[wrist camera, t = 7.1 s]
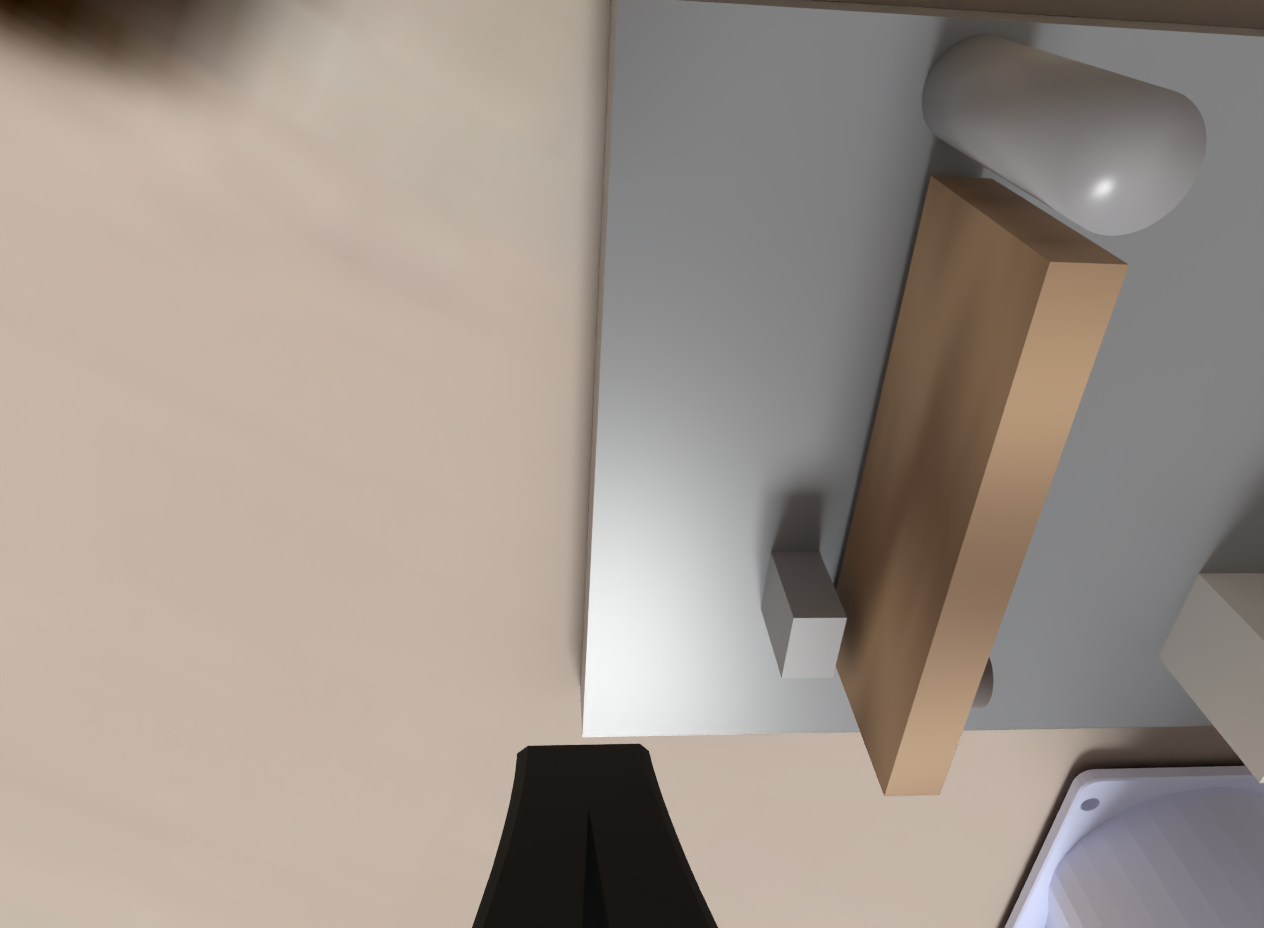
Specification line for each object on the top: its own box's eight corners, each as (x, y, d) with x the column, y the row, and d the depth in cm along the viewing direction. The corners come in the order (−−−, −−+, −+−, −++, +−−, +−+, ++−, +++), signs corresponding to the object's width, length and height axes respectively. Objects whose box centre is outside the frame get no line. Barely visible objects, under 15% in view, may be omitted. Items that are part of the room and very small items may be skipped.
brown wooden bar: (916, 637, 19) (994, 793, 16) (825, 638, 19) (884, 796, 16) (1052, 181, 14) (1205, 267, 11) (931, 175, 14) (1050, 262, 11)
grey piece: (1414, 678, 24) (1644, 886, 19) (580, 688, 22) (589, 926, 17) (1840, 65, 16) (2423, 140, 11) (611, -12, 14) (647, 36, 9)
